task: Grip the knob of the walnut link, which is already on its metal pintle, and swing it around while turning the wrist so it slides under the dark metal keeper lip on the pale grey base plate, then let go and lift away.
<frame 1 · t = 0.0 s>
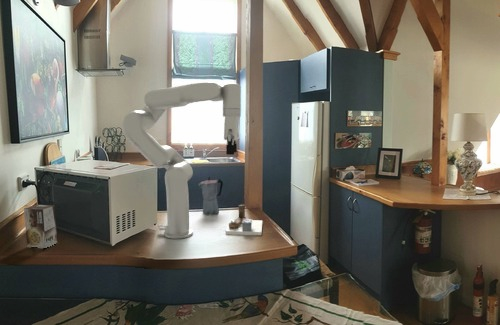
hand: (231, 153, 147), 37 cm above the table, tool pointing down, fingers open, 9 cm apart
base plate: (245, 228, 162), on the table
keeper: (241, 224, 157), on the base plate, point 3 cm above the table
coffee box: (42, 246, 139), on the table
moka pot: (211, 212, 190), on the table
walnut link: (237, 215, 163), point 6 cm above the table, hinge at 75.0°
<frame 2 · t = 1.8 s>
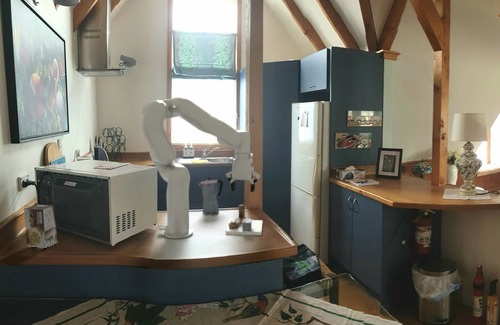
hand: (242, 191, 167), 17 cm above the table, tool pointing down, fingers open, 9 cm apart
nothing on the table moved.
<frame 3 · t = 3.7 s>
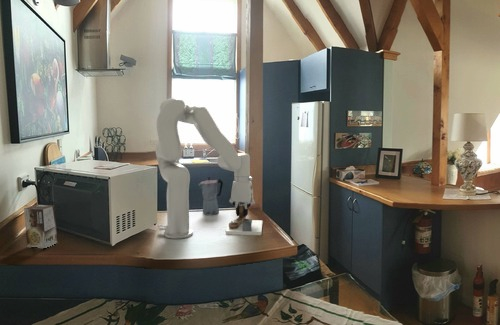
hand: (241, 215, 169), 4 cm above the table, tool pointing down, fingers closed on walnut link, 3 cm apart
walnut link: (237, 215, 163), point 6 cm above the table, hinge at 74.6°, touching gripper
everything else where it was.
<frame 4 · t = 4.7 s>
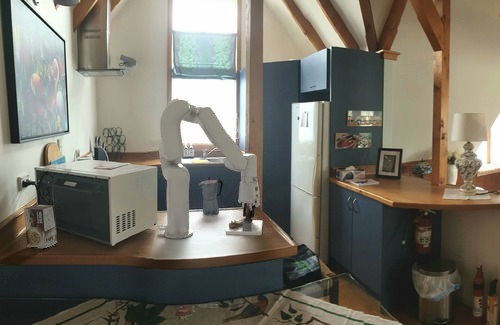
hand: (248, 216, 167), 4 cm above the table, tool pointing down, fingers closed on walnut link, 3 cm apart
walnut link: (240, 216, 162), point 6 cm above the table, hinge at 55.1°, touching gripper
everything else where it was.
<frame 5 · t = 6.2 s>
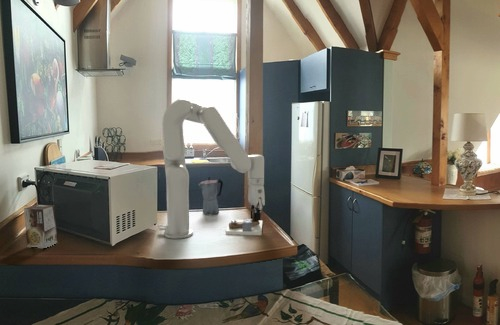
hand: (255, 219, 162), 4 cm above the table, tool pointing down, fingers closed on walnut link, 3 cm apart
walnut link: (243, 217, 160), point 6 cm above the table, hinge at 26.4°, touching gripper
everything else where it was.
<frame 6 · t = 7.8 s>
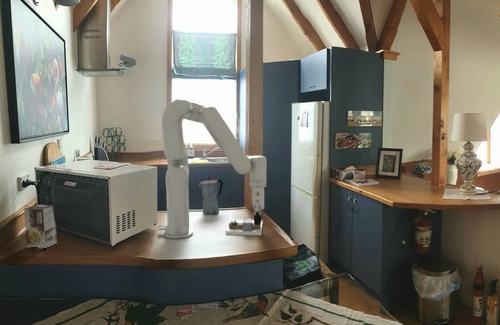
hand: (257, 221, 158), 5 cm above the table, tool pointing down, fingers closed on walnut link, 3 cm apart
walnut link: (244, 219, 158), point 6 cm above the table, hinge at 0.9°, touching gripper
everything else where it was.
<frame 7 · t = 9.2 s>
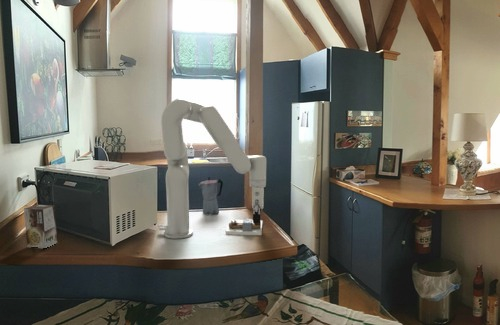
hand: (256, 219, 157), 6 cm above the table, tool pointing down, fingers open, 9 cm apart
walnut link: (244, 219, 158), point 6 cm above the table, hinge at 0.8°
everything else where it was.
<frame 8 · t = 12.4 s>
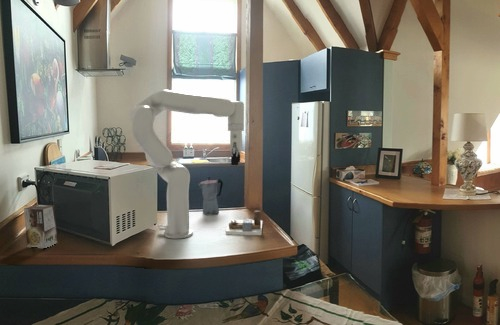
hand: (235, 163, 164), 30 cm above the table, tool pointing down, fingers open, 9 cm apart
nothing on the table moved.
at the end: walnut link at +1° (first picture: +75°); the gripper is holding nothing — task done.
